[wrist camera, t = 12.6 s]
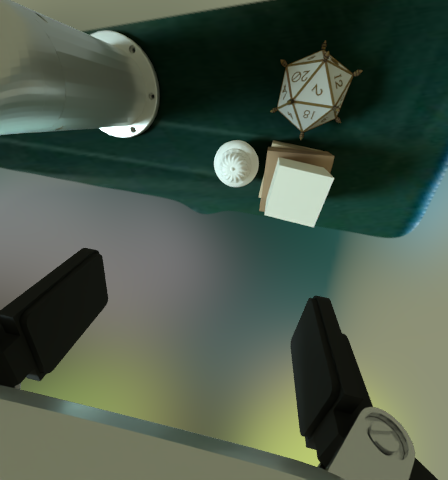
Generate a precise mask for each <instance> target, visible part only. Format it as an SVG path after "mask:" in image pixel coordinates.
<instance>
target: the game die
mask: <svg viewBox="0 0 448 480" xmlns="http://www.w3.org/2000/svg"><path fill="white" fill-rule="evenodd" d="M326 46H327V43H326V40H325V41H324V43H323V44H322V47H321V48H322V50H320V51H318V52H316V53H314V54H311V55H309V56H307V57H304V58H302V59H300V60H297V61H295V62H293V63H290V64H287V61H285V60H281V65H283V66H284V67H285V72H284V77H283V82H282V86H281V91H280V96H279V100H278V105H277V108H275V107H274V108H272V110H271V111H270V112H273V113H274V112H276V111H277V110H278V111H279V112H280V113H281V114H282V115H284V116H285V117H286V118H287V119H288V120H289V121H290V122H291V123H292V124H293V125H294V126H296V127H297V128H298V129H299V130H300V131H301V134H300V136H299V137H300V140H301V139H302V138H303V137H304V132H306V131H308V130H310V129H313V128H315V127H317V126H320V125H322V124H324V123H327V122H329V121H331V120H333V119H335V121H336V123H341V121H340V120H341V119H340V118H339V117H337V116H338V113H339V111H340V108H341V106H342V103H343V101H344V98H345V96H346V93H347V91H348V88H349V86H350V84H351V81H352V79H353V77H354V76H358V75H360V73H361V72H362V71H363V70H359V69H358V70H357V71H355V72H354V73H352V72H351V71H349V70H348V69H347V68H346V67H345V66H343V65H342V64H341V63H340V62H338V61H337V60H336V59H335V58H334V57H332V56H331V55H330V53H329V51H328V52H326V51H325V48H326Z"/></svg>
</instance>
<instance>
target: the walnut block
mask: <svg viewBox="0 0 448 480" xmlns="http://www.w3.org/2000/svg"><path fill="white" fill-rule="evenodd" d="M279 157H281V158H285V159H289V160H294V161H298V162H302V163H306V164H311V165H315V166H319V167H324V168H325V169H326V170H327V171H328V172H329V173H330V172H331V168H332V164H333V161H334V157H335V156H333V155H332V154H330V153H329V152H327V151H315V150H303V149H291V148H279V147H268V151H267V158H266V165H265V173H264V180H263V188H262V195H261V202H260V210H259V211H264V212H265V206H266V199H267V195H268V192H269V188H270V185H271V182H272V178H273V175H274V171H275V168H276V165H277V161H278V158H279ZM319 214H320V213H319ZM318 217H319V216H318Z"/></svg>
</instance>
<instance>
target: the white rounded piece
mask: <svg viewBox="0 0 448 480" xmlns="http://www.w3.org/2000/svg"><path fill="white" fill-rule="evenodd" d="M214 168H215V172H216V174H217V176H218V177H219V179H220V180H221V181H222V182H223V183H224V184H226V185H228V186H231V187H240V186H244V185H246V184H248V183H250V182H251V181H252V180H253V179H254V177H255V176H256V174H257V171H258V168H259V160H258V156H257V154H256V152H255V150H254V149H253V148H252V147H251V145H249V144H248V143H247V142H244V141H241V140H234V141H230V142H227V143H225V144H224V145H222V146H221V147H220V148H219V150H218V151H217V153H216V155H215V159H214Z"/></svg>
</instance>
